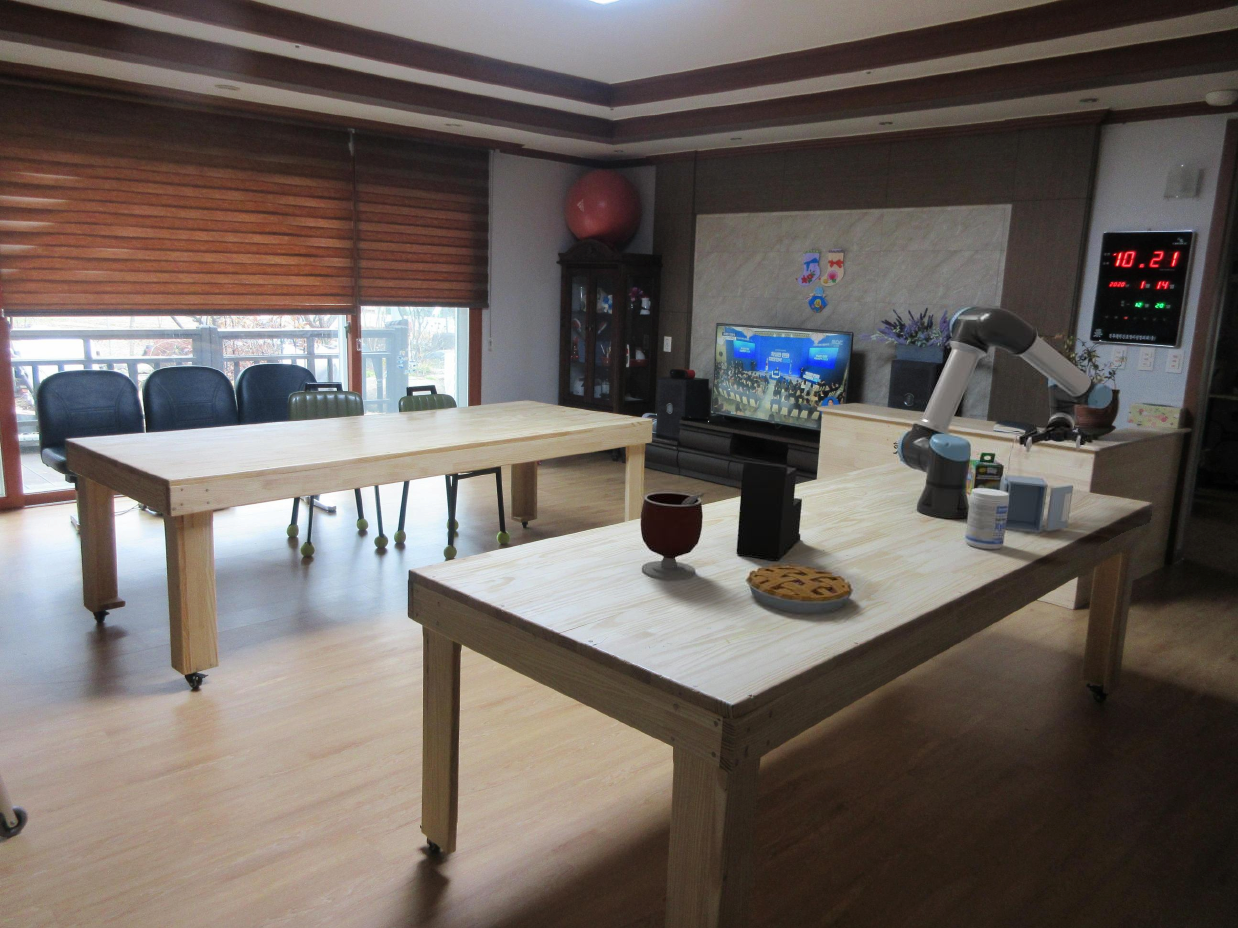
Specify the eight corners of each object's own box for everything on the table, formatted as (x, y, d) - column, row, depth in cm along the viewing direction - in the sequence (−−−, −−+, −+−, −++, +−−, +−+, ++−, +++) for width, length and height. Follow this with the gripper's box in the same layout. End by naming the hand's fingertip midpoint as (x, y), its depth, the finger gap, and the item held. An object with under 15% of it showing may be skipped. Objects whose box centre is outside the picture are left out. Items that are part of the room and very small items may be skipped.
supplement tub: (1000, 552, 230) (1007, 497, 227) (961, 546, 235) (968, 492, 232) (1004, 544, 238) (1011, 491, 236) (967, 538, 243) (974, 485, 240)
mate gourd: (625, 569, 202) (629, 484, 198) (666, 558, 212) (671, 476, 208) (676, 587, 191) (681, 497, 187) (717, 575, 201) (723, 489, 197)
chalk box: (992, 493, 303) (997, 450, 300) (1000, 499, 294) (1006, 455, 291) (964, 491, 304) (969, 449, 301) (972, 497, 295) (977, 453, 292)
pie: (800, 624, 174) (802, 600, 173) (724, 591, 191) (726, 569, 190) (872, 605, 186) (874, 583, 185) (795, 576, 204) (796, 555, 203)
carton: (998, 528, 255) (1005, 480, 253) (995, 520, 265) (1001, 474, 262) (1040, 532, 252) (1047, 484, 250) (1035, 524, 262) (1042, 478, 259)
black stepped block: (761, 533, 238) (768, 447, 234) (801, 540, 234) (808, 452, 229) (735, 555, 217) (742, 461, 213) (778, 562, 213) (786, 467, 208)
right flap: (1048, 530, 252) (1054, 488, 249) (1045, 530, 252) (1051, 487, 250) (1067, 527, 257) (1073, 485, 254) (1064, 526, 257) (1070, 484, 255)
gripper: (1104, 437, 278) (1099, 457, 261) (1018, 440, 291) (1008, 459, 274) (1103, 414, 276) (1098, 433, 259) (1016, 418, 289) (1006, 436, 272)
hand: (1052, 446), depth 266 cm, fingers open, 13 cm apart
